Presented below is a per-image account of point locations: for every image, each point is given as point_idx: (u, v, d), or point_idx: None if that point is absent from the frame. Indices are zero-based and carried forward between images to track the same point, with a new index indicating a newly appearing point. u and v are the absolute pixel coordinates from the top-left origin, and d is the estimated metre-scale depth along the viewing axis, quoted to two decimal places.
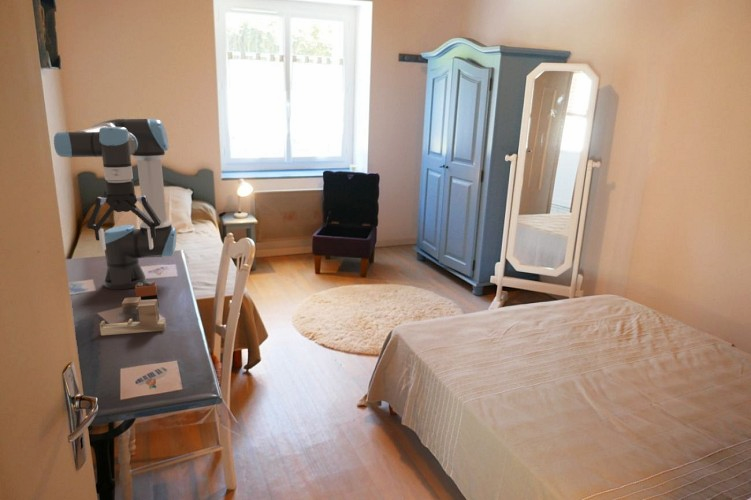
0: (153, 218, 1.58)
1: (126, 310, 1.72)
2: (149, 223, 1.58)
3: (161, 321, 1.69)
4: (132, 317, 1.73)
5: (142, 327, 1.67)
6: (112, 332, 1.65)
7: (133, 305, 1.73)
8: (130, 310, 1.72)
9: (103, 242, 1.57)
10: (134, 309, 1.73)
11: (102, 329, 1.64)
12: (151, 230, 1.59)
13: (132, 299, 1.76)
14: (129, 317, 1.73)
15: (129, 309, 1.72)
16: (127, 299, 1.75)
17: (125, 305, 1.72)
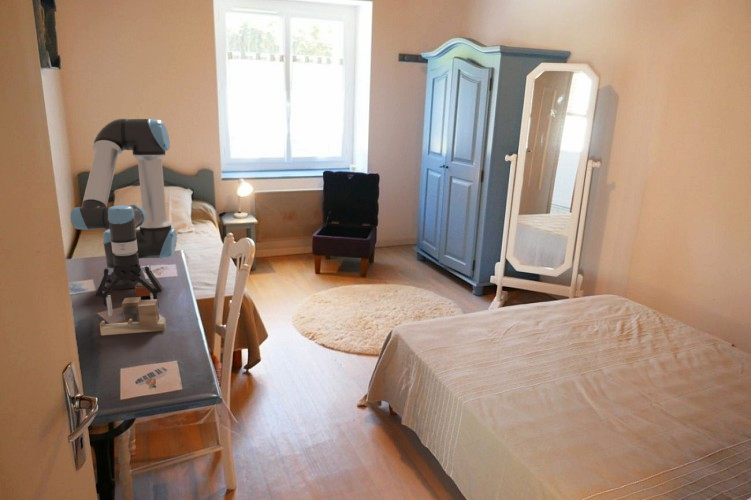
0: (155, 285, 1.74)
1: (126, 310, 1.72)
2: (152, 290, 1.74)
3: (161, 321, 1.69)
4: (132, 317, 1.73)
5: (142, 327, 1.67)
6: (112, 332, 1.65)
7: (133, 305, 1.73)
8: (130, 310, 1.72)
9: (110, 307, 1.73)
10: (134, 309, 1.73)
11: (102, 329, 1.64)
12: (154, 296, 1.75)
13: (132, 299, 1.76)
14: (129, 317, 1.73)
15: (129, 309, 1.72)
16: (127, 299, 1.75)
17: (125, 305, 1.72)
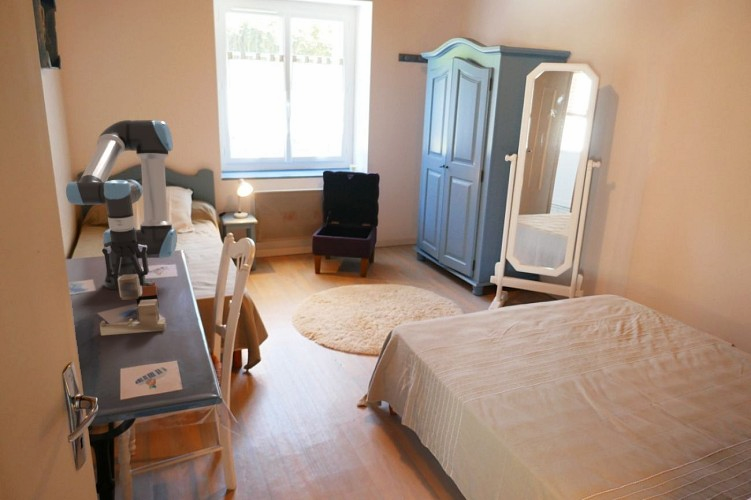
0: (144, 267, 1.72)
1: (123, 287, 1.70)
2: (139, 272, 1.72)
3: (161, 321, 1.69)
4: (130, 294, 1.71)
5: (142, 327, 1.67)
6: (112, 332, 1.65)
7: (131, 282, 1.71)
8: (128, 286, 1.70)
9: None
10: (132, 286, 1.71)
11: (102, 329, 1.64)
12: (140, 278, 1.73)
13: (130, 275, 1.74)
14: (127, 294, 1.71)
15: (127, 286, 1.70)
16: (124, 276, 1.73)
17: (122, 282, 1.70)
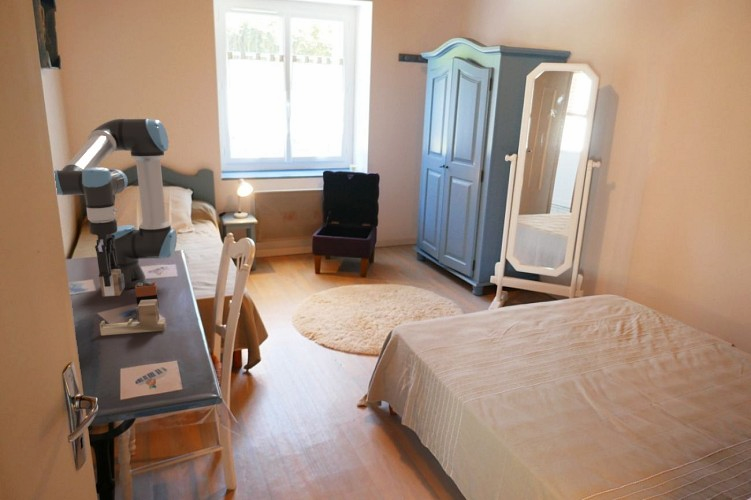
0: (116, 256, 1.65)
1: (121, 279, 1.61)
2: (115, 263, 1.64)
3: (161, 321, 1.69)
4: (123, 285, 1.64)
5: (142, 327, 1.67)
6: (112, 332, 1.65)
7: (120, 273, 1.63)
8: (122, 277, 1.63)
9: None
10: (123, 276, 1.64)
11: (102, 329, 1.64)
12: None
13: None
14: (123, 286, 1.63)
15: (122, 277, 1.62)
16: None
17: (117, 275, 1.60)
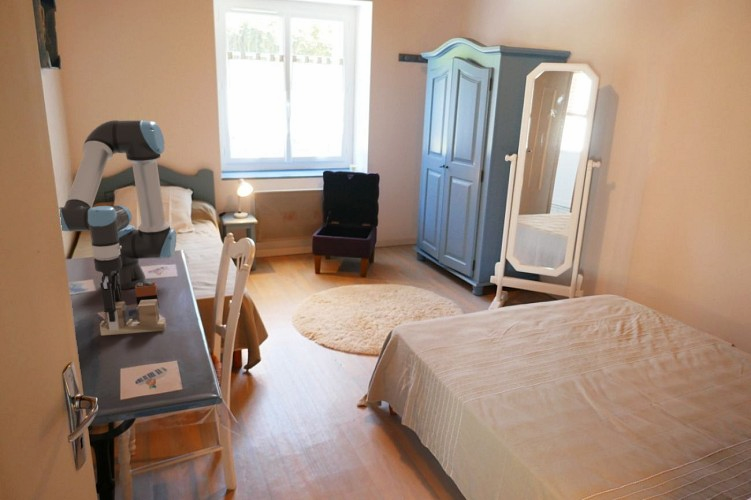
0: (120, 291, 1.69)
1: (126, 312, 1.64)
2: (120, 297, 1.67)
3: (161, 321, 1.69)
4: (128, 318, 1.67)
5: (142, 327, 1.67)
6: (112, 332, 1.65)
7: (124, 306, 1.66)
8: (126, 310, 1.66)
9: None
10: (127, 308, 1.67)
11: (102, 329, 1.64)
12: None
13: None
14: (127, 318, 1.66)
15: (126, 310, 1.65)
16: None
17: (122, 308, 1.64)
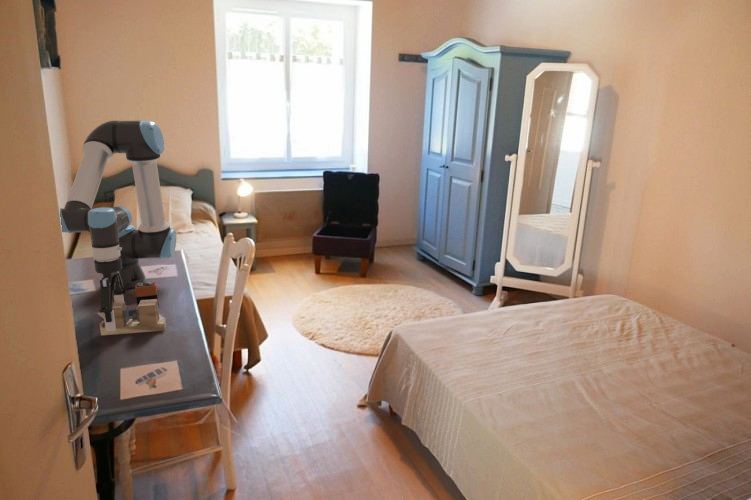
0: (122, 283, 1.71)
1: (126, 312, 1.64)
2: (121, 289, 1.70)
3: (161, 321, 1.69)
4: (128, 318, 1.67)
5: (142, 327, 1.67)
6: (112, 332, 1.65)
7: (124, 306, 1.66)
8: (126, 310, 1.66)
9: None
10: (127, 308, 1.67)
11: (102, 329, 1.64)
12: None
13: None
14: (127, 318, 1.66)
15: (126, 310, 1.65)
16: None
17: (122, 308, 1.63)
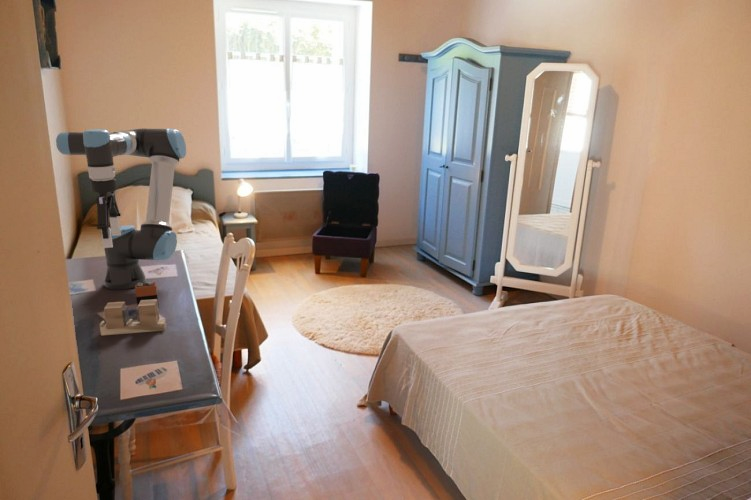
0: (117, 207, 1.79)
1: (126, 312, 1.64)
2: (117, 212, 1.79)
3: (161, 321, 1.69)
4: (128, 318, 1.67)
5: (142, 327, 1.67)
6: (112, 332, 1.65)
7: (124, 306, 1.66)
8: (126, 310, 1.66)
9: None
10: (127, 308, 1.67)
11: (102, 329, 1.64)
12: None
13: (111, 304, 1.64)
14: (127, 318, 1.66)
15: (126, 310, 1.65)
16: (110, 306, 1.63)
17: (122, 308, 1.63)
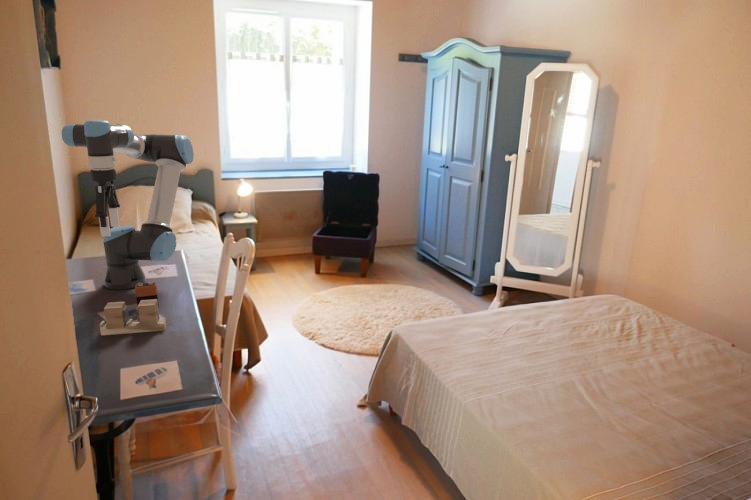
0: (116, 198, 1.82)
1: (126, 312, 1.64)
2: (116, 203, 1.81)
3: (161, 321, 1.69)
4: (128, 318, 1.67)
5: (142, 327, 1.67)
6: (112, 332, 1.65)
7: (124, 306, 1.66)
8: (126, 310, 1.66)
9: None
10: (127, 308, 1.67)
11: (102, 329, 1.64)
12: None
13: (111, 304, 1.64)
14: (127, 318, 1.66)
15: (126, 310, 1.65)
16: (110, 306, 1.63)
17: (122, 308, 1.63)
